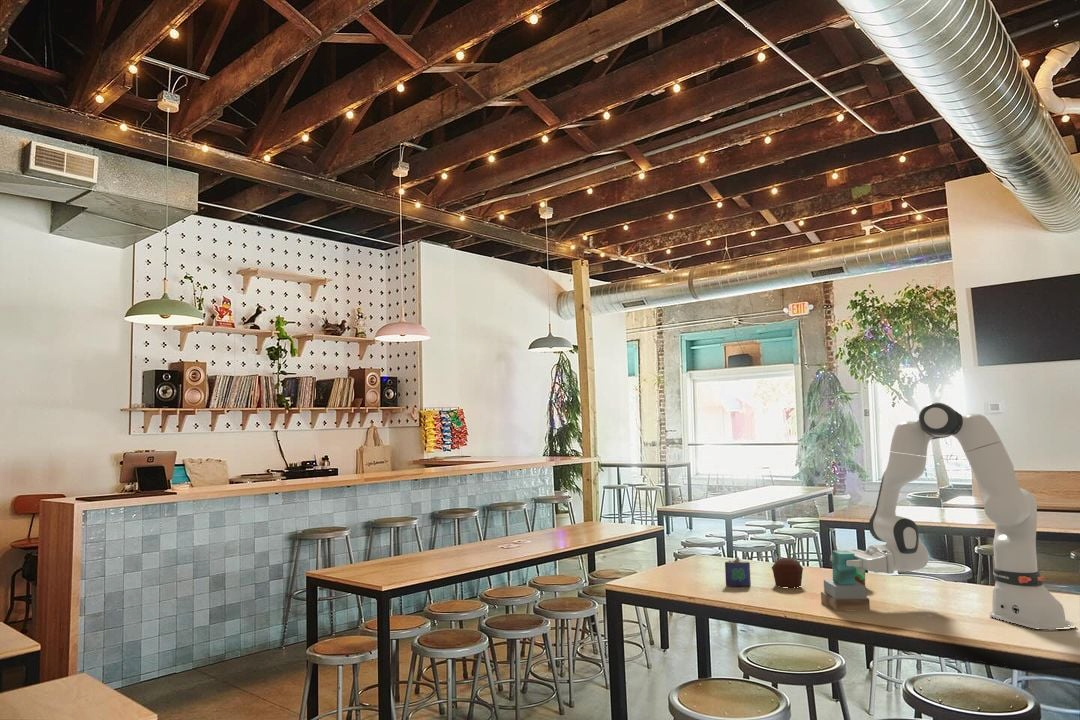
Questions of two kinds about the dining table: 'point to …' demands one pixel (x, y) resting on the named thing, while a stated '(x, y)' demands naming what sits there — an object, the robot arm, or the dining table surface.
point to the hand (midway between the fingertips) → (838, 560)
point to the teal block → (843, 568)
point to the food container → (860, 575)
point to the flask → (737, 573)
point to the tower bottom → (845, 603)
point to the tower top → (845, 590)
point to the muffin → (787, 573)
